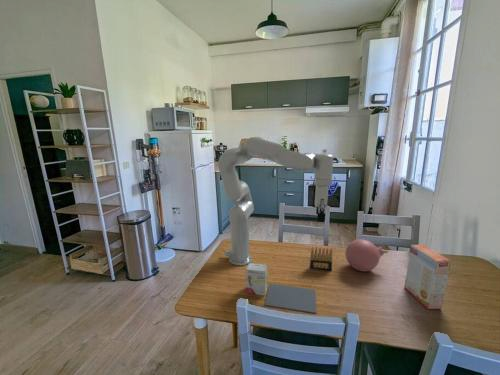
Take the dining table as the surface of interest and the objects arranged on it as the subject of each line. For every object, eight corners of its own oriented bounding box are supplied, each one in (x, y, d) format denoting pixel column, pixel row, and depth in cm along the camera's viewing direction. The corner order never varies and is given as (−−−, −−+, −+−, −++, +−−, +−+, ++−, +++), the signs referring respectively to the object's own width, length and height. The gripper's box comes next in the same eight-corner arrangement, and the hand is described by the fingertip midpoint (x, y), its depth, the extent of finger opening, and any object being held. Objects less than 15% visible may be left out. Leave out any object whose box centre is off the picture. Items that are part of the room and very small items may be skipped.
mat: (264, 305, 96) (264, 304, 96) (269, 284, 110) (270, 283, 110) (316, 313, 92) (316, 312, 92) (315, 290, 105) (315, 289, 105)
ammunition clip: (331, 269, 121) (332, 247, 119) (331, 271, 120) (333, 249, 117) (309, 267, 123) (310, 245, 121) (309, 269, 122) (310, 247, 119)
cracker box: (442, 309, 93) (452, 260, 89) (427, 310, 93) (436, 261, 88) (416, 286, 107) (424, 243, 102) (403, 287, 107) (410, 244, 102)
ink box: (245, 293, 104) (245, 268, 101) (248, 286, 108) (248, 262, 106) (265, 296, 102) (265, 271, 99) (267, 288, 107) (267, 264, 104)
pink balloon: (393, 278, 113) (398, 248, 110) (350, 277, 114) (353, 247, 111) (378, 261, 128) (382, 234, 125) (340, 260, 129) (342, 233, 126)
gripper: (313, 177, 117) (311, 211, 121) (314, 185, 100) (312, 224, 104) (329, 178, 115) (326, 212, 119) (333, 186, 99) (330, 225, 103)
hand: (320, 217), depth 112 cm, fingers open, 9 cm apart
